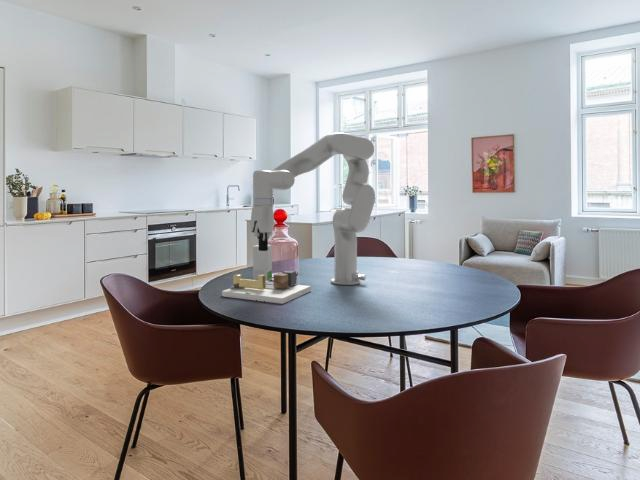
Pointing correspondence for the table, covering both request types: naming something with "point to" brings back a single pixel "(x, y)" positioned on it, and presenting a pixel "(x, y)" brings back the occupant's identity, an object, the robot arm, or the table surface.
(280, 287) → the walnut slider
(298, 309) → the table surface
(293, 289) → the panel
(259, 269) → the skincare box
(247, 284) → the brass lever
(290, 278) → the gray slider
